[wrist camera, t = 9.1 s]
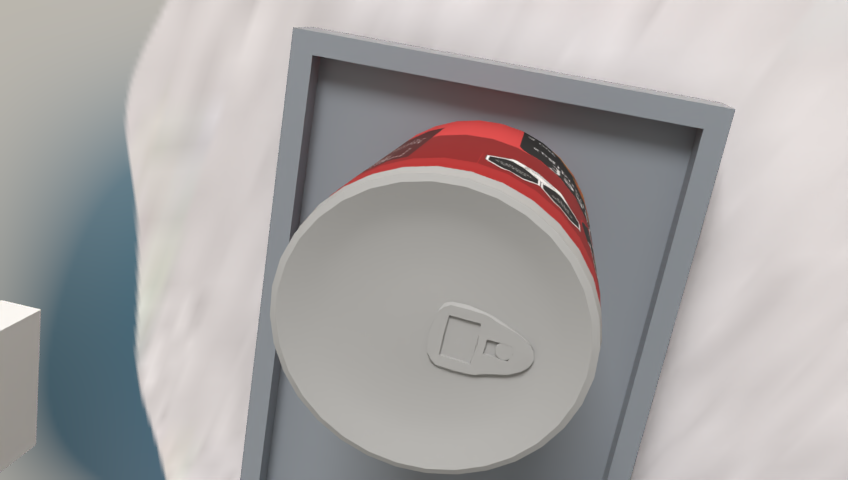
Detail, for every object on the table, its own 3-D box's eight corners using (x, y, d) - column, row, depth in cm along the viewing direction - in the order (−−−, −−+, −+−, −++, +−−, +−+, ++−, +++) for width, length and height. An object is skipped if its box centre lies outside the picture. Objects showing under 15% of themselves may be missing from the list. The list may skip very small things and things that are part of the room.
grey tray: (322, 27, 30) (293, 27, 27) (715, 99, 29) (735, 109, 25) (263, 488, 36) (233, 535, 33) (585, 571, 35) (587, 629, 31)
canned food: (588, 322, 29) (602, 487, 19) (377, 318, 30) (280, 469, 20) (590, 113, 27) (607, 167, 17) (365, 119, 28) (250, 172, 18)
